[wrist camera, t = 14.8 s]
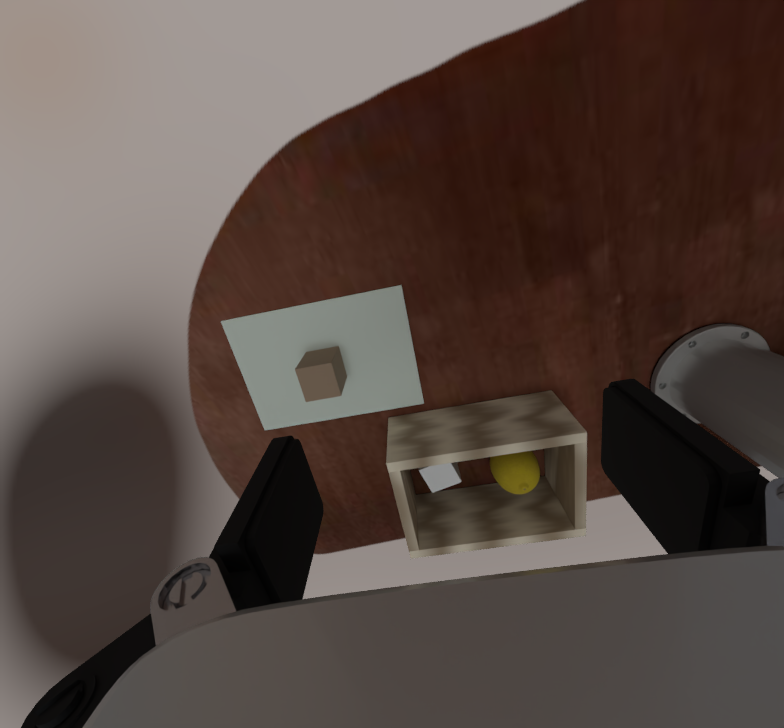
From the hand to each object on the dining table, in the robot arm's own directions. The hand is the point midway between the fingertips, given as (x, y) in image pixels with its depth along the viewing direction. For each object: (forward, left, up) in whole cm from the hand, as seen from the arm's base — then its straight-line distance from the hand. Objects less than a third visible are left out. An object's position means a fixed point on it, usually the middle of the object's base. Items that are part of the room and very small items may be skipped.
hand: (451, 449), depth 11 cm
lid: (+12, +8, -31) cm, 34 cm away
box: (-4, +24, -30) cm, 39 cm away
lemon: (-8, +24, -31) cm, 40 cm away
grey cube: (+1, +24, -30) cm, 39 cm away
